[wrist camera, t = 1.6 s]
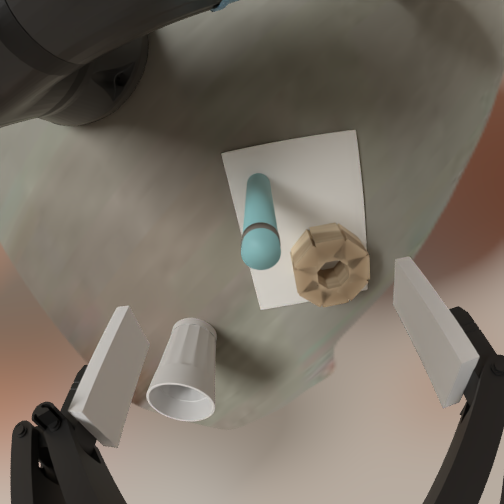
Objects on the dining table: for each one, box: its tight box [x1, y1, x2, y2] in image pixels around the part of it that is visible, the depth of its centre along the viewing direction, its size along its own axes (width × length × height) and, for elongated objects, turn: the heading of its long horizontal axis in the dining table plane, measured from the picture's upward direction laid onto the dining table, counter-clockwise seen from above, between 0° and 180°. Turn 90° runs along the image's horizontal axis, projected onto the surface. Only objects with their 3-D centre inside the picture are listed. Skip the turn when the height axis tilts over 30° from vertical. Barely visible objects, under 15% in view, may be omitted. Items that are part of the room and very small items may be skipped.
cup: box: [147, 318, 217, 421], centre depth 38 cm, size 8×8×12 cm
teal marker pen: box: [241, 173, 281, 270], centre depth 26 cm, size 2×2×15 cm
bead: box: [290, 223, 370, 307], centre depth 35 cm, size 8×8×4 cm
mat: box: [221, 130, 368, 310], centre depth 35 cm, size 20×14×1 cm
